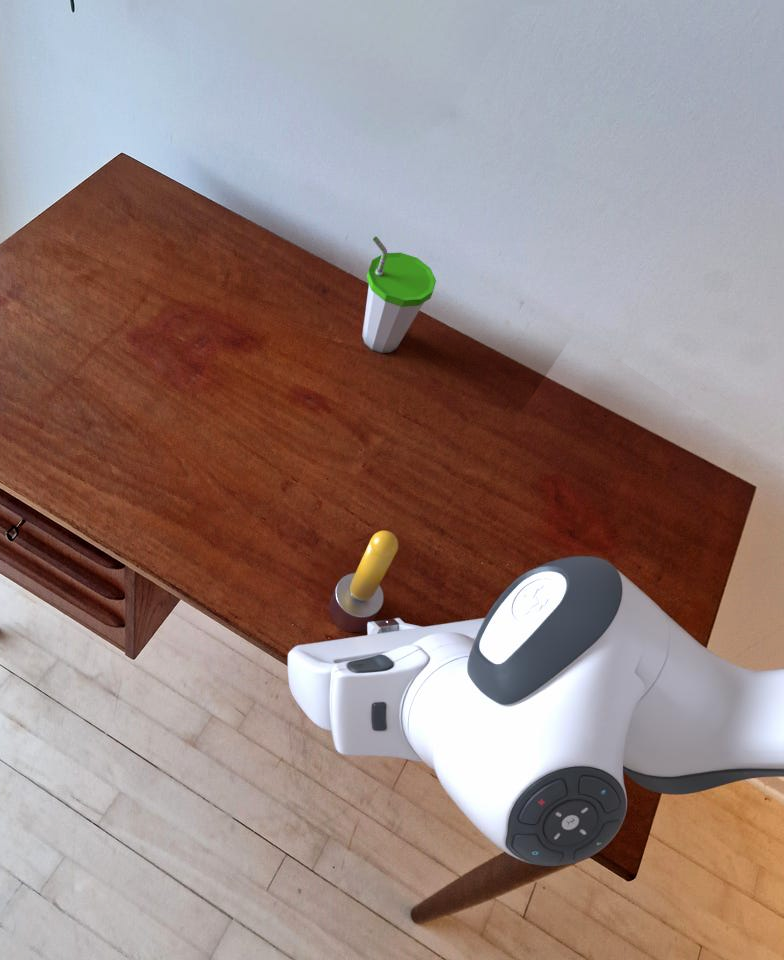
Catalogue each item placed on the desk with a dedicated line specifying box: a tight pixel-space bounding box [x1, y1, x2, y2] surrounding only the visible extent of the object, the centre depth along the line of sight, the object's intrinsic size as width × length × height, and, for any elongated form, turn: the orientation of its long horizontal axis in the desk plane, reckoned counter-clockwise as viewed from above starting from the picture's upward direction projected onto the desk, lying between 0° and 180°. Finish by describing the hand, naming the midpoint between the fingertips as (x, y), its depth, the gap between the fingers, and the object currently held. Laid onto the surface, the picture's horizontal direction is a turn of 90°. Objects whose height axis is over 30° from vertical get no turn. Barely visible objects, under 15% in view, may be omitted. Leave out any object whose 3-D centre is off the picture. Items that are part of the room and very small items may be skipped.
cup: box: [361, 236, 437, 354], centre depth 97 cm, size 8×8×15 cm
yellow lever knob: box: [328, 530, 399, 633], centre depth 76 cm, size 5×5×14 cm
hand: (382, 627), depth 74 cm, fingers closed
